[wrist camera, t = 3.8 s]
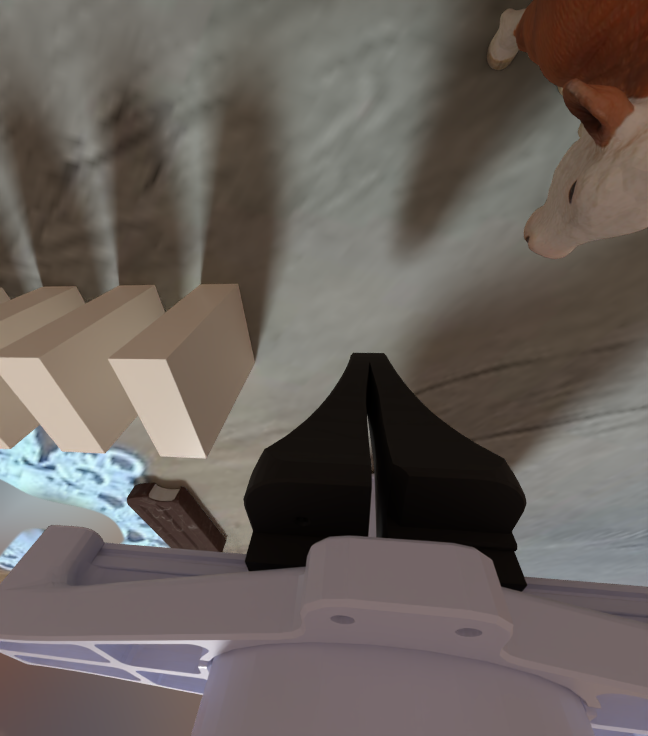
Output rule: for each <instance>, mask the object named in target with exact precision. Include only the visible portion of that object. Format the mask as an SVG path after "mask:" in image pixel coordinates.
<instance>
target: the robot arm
mask: <svg viewBox="0 0 648 736" xmlns="http://www.w3.org/2000/svg"><path fill="white" fill-rule="evenodd" d="M367 415H368V423H369V430H370V438H371V445H372V453H373V461H374V473H373V474H372V471H371V459H370V449H369V439H368V426H367ZM244 506H245V509H246V512H247V515H248V518H249V521H250V523H251V526H252V529H253V533H252V537H251V541H250V544H249V548H248V551H247V554H238V553H225V552H213V551H201V550H188V549H176V548H164V547H151V546H139V545H127V544H114V543H104V542H103V539H102V538H101V536H100V535H98V533H96V532H95V531H93V530H91V529H88V528H84V527H74V526H61V525H51V526H48V528H47V529H46V530H45V531H44V532H43V534H42V535H41V536H40V537H39V538H38V539H37V541H36V542H35V543H34V544H33V545H32V547H31V548H30V549H29V550H28V551H27V553H26V554H25V555H24V556H23V557H22V559H21V560H20V561H19V562H18V563H17V565H16V566H15V567H14V568H13V569H12V570H11V572H10V573H9V574H8V575H7V576H6V578H5V579H4V580H3V581H2V582H1V584H0V652H1V653H3V654H5V655H8V656H10V657H12V658H14V659H17V660H19V661H21V662H24V663H26V664H31V665H38V666H46V667H53V668H60V669H66V670H72V671H78V672H85V673H90V674H96V675H101V676H107V677H112V678H118V679H123V680H128V681H133V682H138V683H144V684H149V685H154V686H160V687H165V688H170V689H175V690H181V691H185V692H191V693H196V694H201V695H203V696H202V700H201V703H200V707H199V710H198V714H197V717H196V720H195V724H194V727H193V731H192V734H191V736H648V587H644V586H632V585H619V584H607V583H595V582H582V581H570V580H558V579H545V578H533V577H524V575H523V573H522V570H521V568H520V565H519V563H518V560H517V557H516V555H515V552H514V551H516V550H517V543H516V541H515V539H514V536H513V534H512V530H513V529H514V527H515V525H516V524H517V522H518V520H519V519H520V517H521V515H522V513H523V512H524V509H525V506H526V498H525V494H524V492H523V490H522V488H521V486H520V484H519V482H518V480H517V479H516V477H515V475H514V473H513V472H512V470H511V469H510V467H509V466H508V464H507V463H506V461H505V459H504V458H502V457H500V456H498V455H496V454H494V453H492V452H491V451H489V450H487V449H485V448H483V447H481V446H480V445H478V444H476V443H474V442H473V441H471V440H470V439H468V438H466V437H465V436H463V435H462V434H460V433H459V432H457V431H456V430H454V429H453V428H451V427H450V426H449V425H447V424H446V423H445V422H443V421H442V420H441V419H440V418H438V417H437V416H436V415H435V414H433V413H432V412H431V411H430V410H429V409H428V408H427V407H426V406H425V405H424V404H423V403H422V402H421V401H420V400H419V399H418V398H417V397H416V396H415V395H414V394H413V393H412V392H411V390H410V389H409V388H408V387H407V386H406V384H405V383H404V382H403V380H402V379H401V378H400V376H399V375H398V374H397V372H396V371H395V369H394V368H393V366H392V365H391V363H390V361H389V360H388V358H387V356H386V355H385V354H384V353H353V354H352V355H351V357H350V360H349V363H348V365H347V367H346V369H345V371H344V373H343V375H342V377H341V378H340V380H339V382H338V383H337V385H336V386H335V388H334V389H333V390H332V392H331V393H330V395H329V396H328V397H327V398H326V400H325V401H324V402H323V403H322V404H321V405H320V407H319V408H318V409H317V410H316V411H315V412H314V413H313V414H312V415H311V416H310V417H309V418H308V419H307V420H305V421H304V422H303V423H302V424H301V425H299V426H298V427H297V428H296V429H294V430H293V431H292V432H291V433H289V434H288V435H287V436H285V437H284V438H282V439H281V440H279V441H277V442H276V443H274V444H273V445H271V446H269V447H268V448H266V449H264V451H263V453H262V455H261V456H260V458H259V460H258V462H257V464H256V466H255V468H254V470H253V472H252V475H251V477H250V480H249V484H248V487H247V490H246V493H245V496H244Z"/></svg>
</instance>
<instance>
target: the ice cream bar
mask: <svg viewBox="0 0 648 736" xmlns="http://www.w3.org/2000/svg"><path fill="white" fill-rule="evenodd" d="M127 503H128V505H129V506H130V507H131V508H132V509H133V510H134V511H135V512H136V513H137V514H138V515H139V516H140V517H141V518H142V519H143V520H144V521H145V522H146V523H147V524H148V525H149V526H150V527H151V528H152V529H153V530H154V531H155V532H156V533H157V534H158V535H159V536H160V537H161V538H162V539H163V540H164V541H165V542H166V543H167V544H168V545H169V546H170V547H171V548H176V549H188V550H201V551H213V552H222V551H223V548H224V545H225V542H226V540H225V538H224V537H223V536H222V535H221V533H220V532H219V531H218V529H217V528H216V527H215V526H214V524H213V523H212V522H211V520H210V519H209V518H208V517H207V515H206V514H205V513H204V511H203V510H202V509H201V508H200V506H199V505H198V504H197V502H196V501H195V500H194V499H193V497H192V496H191V495H190V493H189V492H188V491H187V490H186V488H185V487H182V486H181V488H180V489H165V488H162V487H159V486H157V485H156V483H143V484H138V485H136V486H135V487H134V488H133V490H132V491H131V492H130V494H129V495H128V497H127Z"/></svg>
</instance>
